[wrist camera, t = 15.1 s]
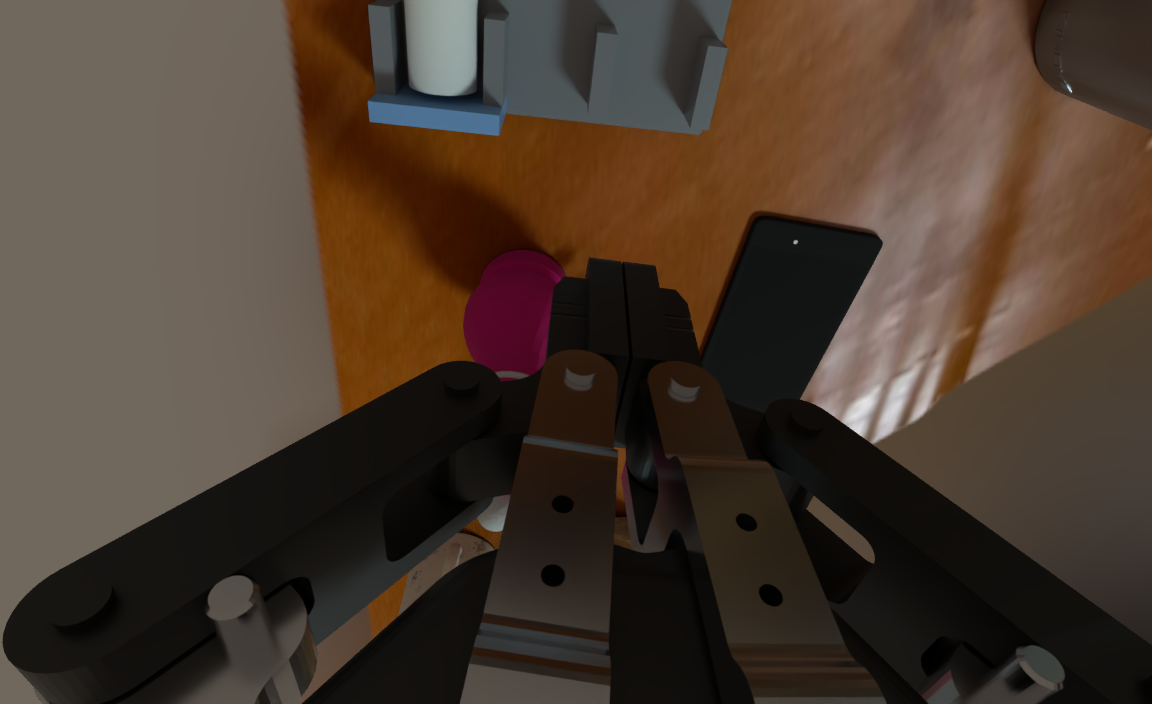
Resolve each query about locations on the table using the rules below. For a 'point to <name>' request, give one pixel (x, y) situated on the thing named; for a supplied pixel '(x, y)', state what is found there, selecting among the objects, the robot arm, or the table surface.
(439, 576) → the teacup with lid
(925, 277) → the table surface
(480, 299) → the pepper mill
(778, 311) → the cell phone
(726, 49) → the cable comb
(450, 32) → the white rounded capsule
